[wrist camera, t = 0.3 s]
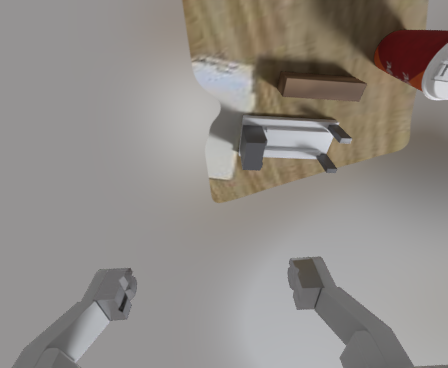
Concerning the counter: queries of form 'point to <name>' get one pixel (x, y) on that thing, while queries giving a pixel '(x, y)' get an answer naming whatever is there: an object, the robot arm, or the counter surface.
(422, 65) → the coffee cup
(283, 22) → the counter surface
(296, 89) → the slat
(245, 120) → the endcap frame
